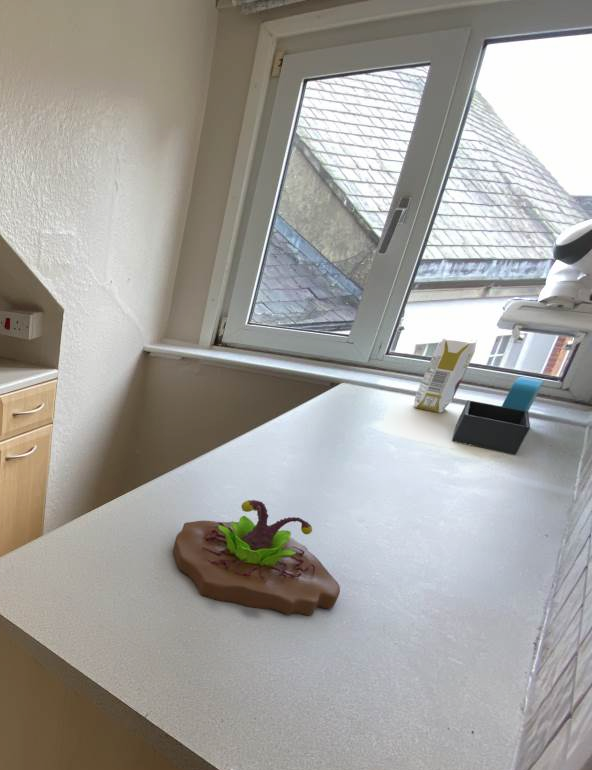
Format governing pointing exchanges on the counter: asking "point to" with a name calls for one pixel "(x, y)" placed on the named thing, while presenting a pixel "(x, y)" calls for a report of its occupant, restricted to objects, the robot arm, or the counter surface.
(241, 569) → the plant
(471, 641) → the counter surface
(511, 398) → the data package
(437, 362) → the juice carton
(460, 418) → the box
